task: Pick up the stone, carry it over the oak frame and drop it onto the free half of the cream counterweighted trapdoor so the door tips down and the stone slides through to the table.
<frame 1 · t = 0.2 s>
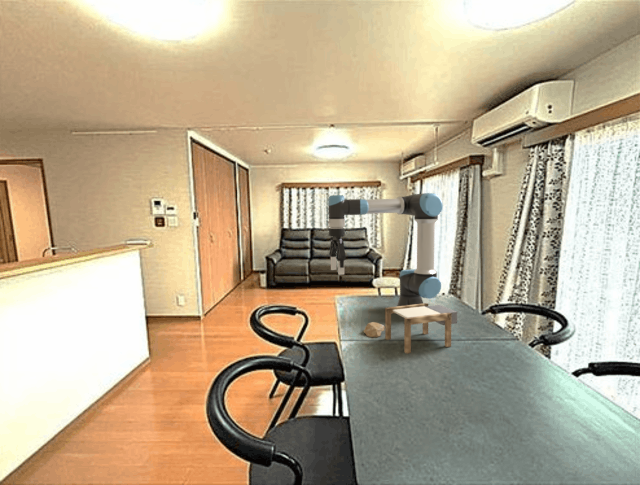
hand: (337, 272, 171), 27 cm above the table, fingers open, 13 cm apart
stone: (374, 334, 165), on the table
frame: (417, 342, 152), on the table
trapdoor: (424, 316, 153), point 11 cm above the table, hinge at 0.0°
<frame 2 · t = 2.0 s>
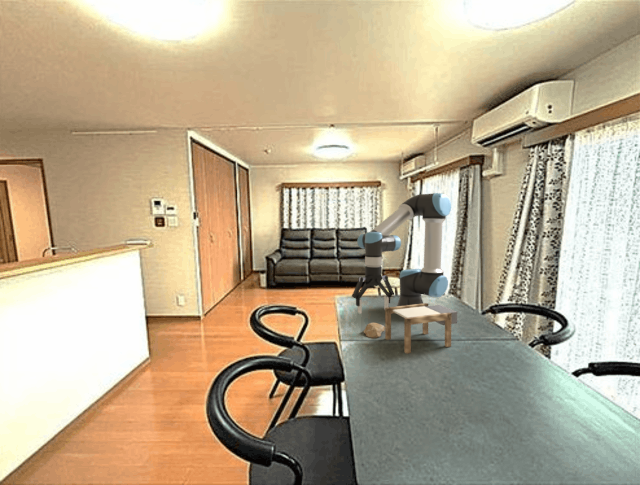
hand: (373, 311, 164), 10 cm above the table, fingers open, 13 cm apart
nothing on the table moved.
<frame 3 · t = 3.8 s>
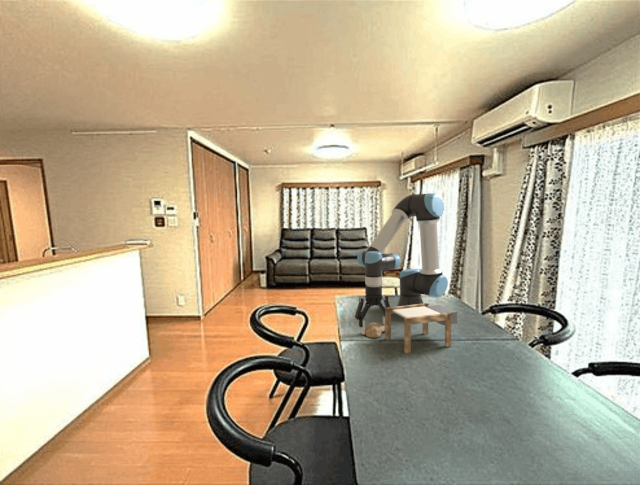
hand: (373, 332, 165), 0 cm above the table, fingers closed on stone, 11 cm apart
stone: (374, 334, 164), on the table, touching gripper
everything else where it was.
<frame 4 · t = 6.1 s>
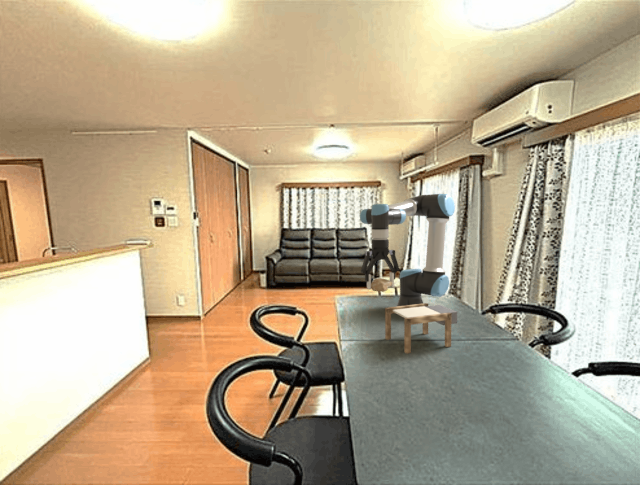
hand: (380, 287, 160), 22 cm above the table, fingers closed on stone, 11 cm apart
stone: (380, 289, 159), point 21 cm above the table, touching gripper
everything else where it was.
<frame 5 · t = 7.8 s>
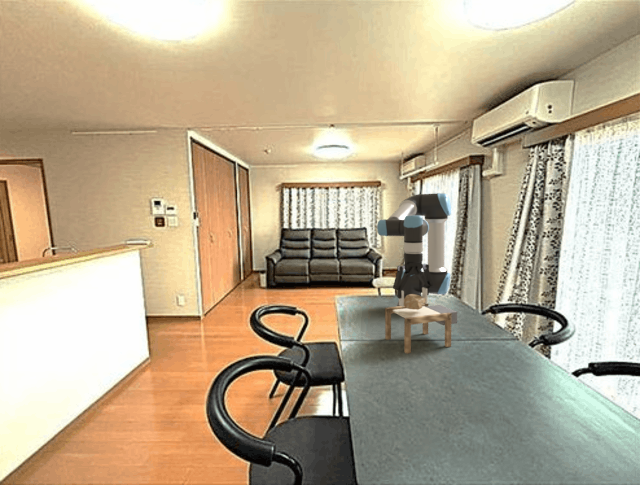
hand: (413, 304, 150), 17 cm above the table, fingers closed on stone, 11 cm apart
stone: (414, 306, 149), point 16 cm above the table, touching gripper
everything else where it was.
when the fingers open (17 cm above the table, at t = 8.5 s): stone drops 13 cm, resting on trapdoor.
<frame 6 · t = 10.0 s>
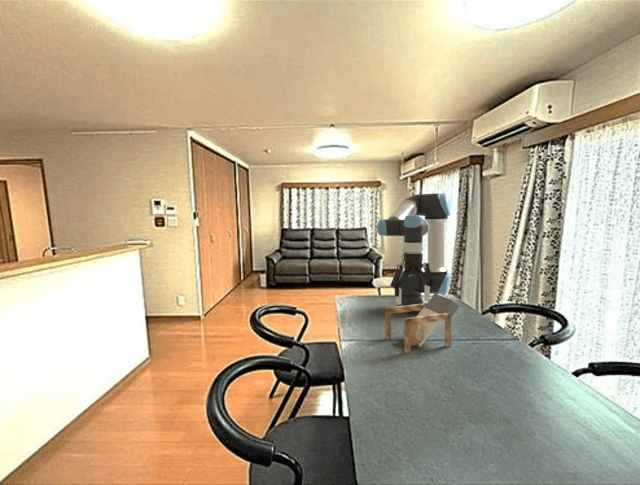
hand: (413, 302, 150), 18 cm above the table, fingers open, 13 cm apart
stone: (416, 336, 151), point 3 cm above the table, touching trapdoor
trapdoor: (430, 321, 154), point 8 cm above the table, hinge at -47.4°, touching stone
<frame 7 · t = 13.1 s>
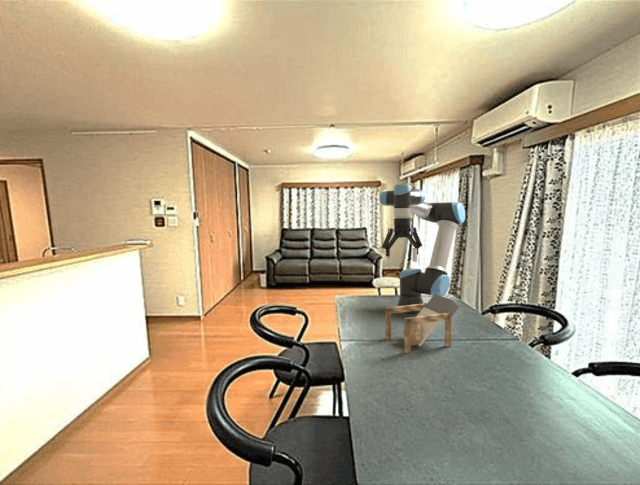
hand: (402, 262, 169), 32 cm above the table, fingers open, 13 cm apart
trapdoor: (430, 321, 154), point 8 cm above the table, hinge at -46.9°, touching stone
everything else where it was.
at the end: stone point 3.4 cm above the table; stone moved 21.4 cm from its start; the gripper is holding nothing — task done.
